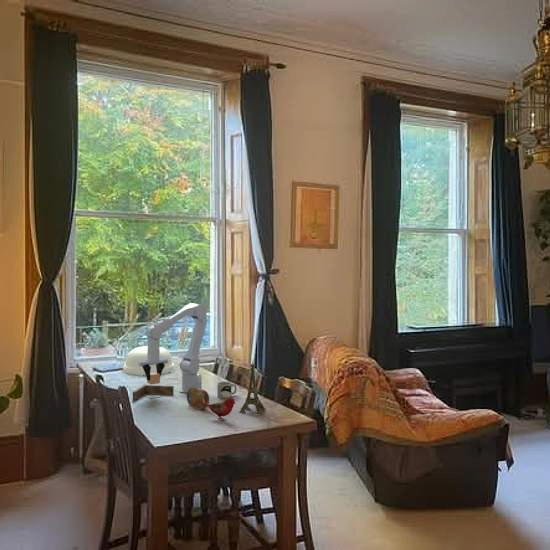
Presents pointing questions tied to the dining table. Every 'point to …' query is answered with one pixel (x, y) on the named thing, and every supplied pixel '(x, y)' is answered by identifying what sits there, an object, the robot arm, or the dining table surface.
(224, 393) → the mug
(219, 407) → the decorative bird figurine
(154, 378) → the cube
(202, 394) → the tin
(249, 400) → the eiffel tower
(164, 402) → the dining table surface
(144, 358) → the dome cover
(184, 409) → the dining table surface
